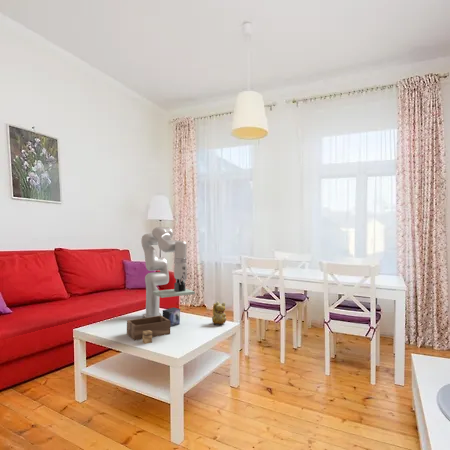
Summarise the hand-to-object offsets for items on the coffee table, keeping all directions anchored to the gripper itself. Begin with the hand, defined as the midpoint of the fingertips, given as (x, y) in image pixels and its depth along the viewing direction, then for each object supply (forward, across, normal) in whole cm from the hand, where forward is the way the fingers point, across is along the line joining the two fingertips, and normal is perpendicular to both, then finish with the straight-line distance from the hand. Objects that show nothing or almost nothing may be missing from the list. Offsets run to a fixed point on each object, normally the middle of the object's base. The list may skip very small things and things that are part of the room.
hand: (179, 289), depth 202 cm
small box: (+26, +12, 0) cm, 28 cm away
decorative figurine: (+25, -2, -28) cm, 38 cm away
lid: (+2, 0, +4) cm, 5 cm away
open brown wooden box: (+25, +3, +19) cm, 32 cm away
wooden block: (+25, -10, +24) cm, 37 cm away
